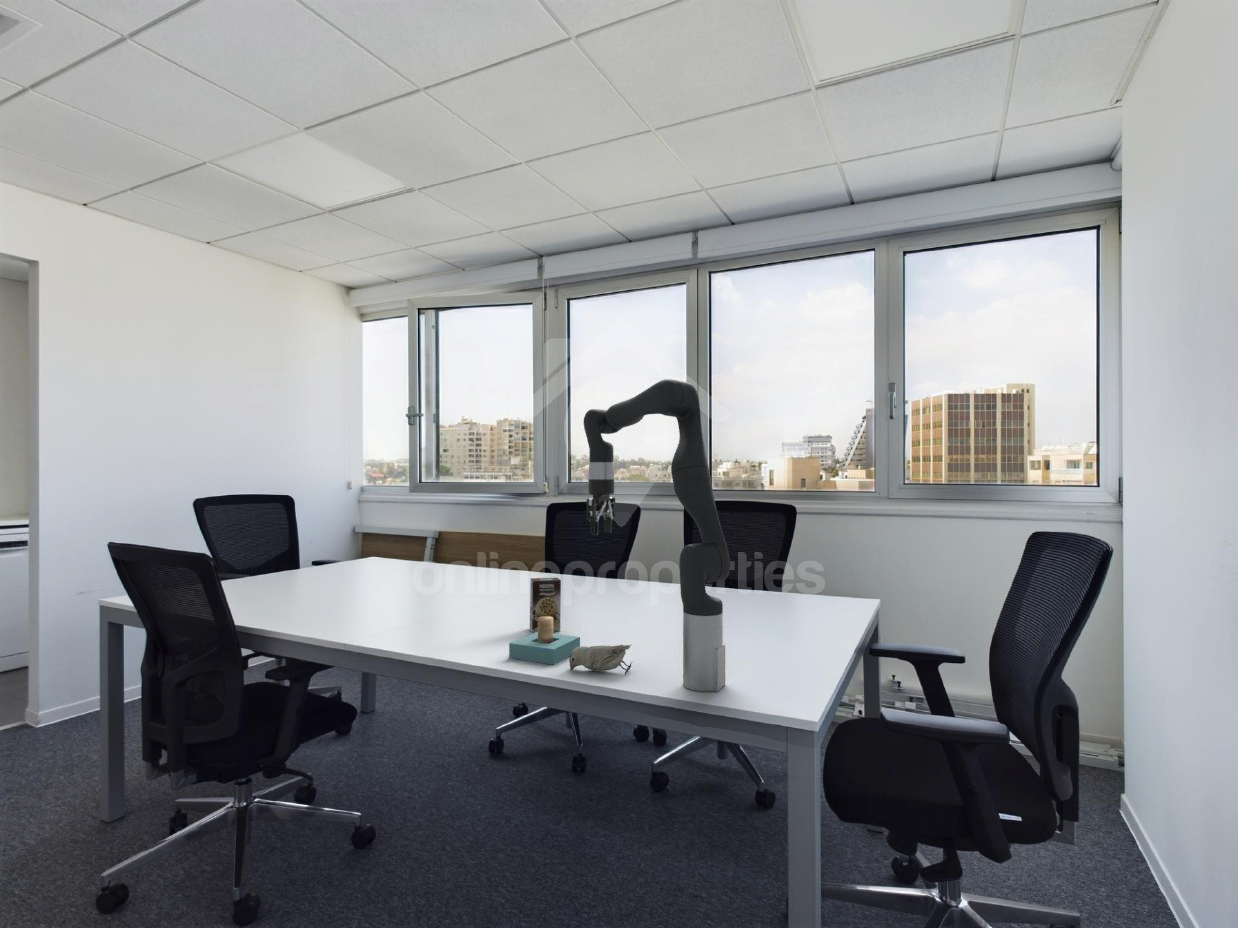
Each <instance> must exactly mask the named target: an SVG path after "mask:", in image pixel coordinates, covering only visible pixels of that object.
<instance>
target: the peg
mask: <svg viewBox="0 0 1238 928" xmlns="http://www.w3.org/2000/svg"><path fill="white" fill-rule="evenodd" d="M553 634H554V631H553V617H550V616H543V617H539V618H538V642H539V643H546V644H550V643H552V642H553Z"/></svg>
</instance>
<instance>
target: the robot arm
mask: <svg viewBox="0 0 1238 928" xmlns="http://www.w3.org/2000/svg"><path fill="white" fill-rule="evenodd" d="M700 405H701V403H700V396H699V393H698V390H697V388H696V387H695V385H693V384H692V383H690V382H687V381H682V380H678V379H677V380H676V379H672V378H671V379H668V378H664V379H662V380H660V381H657V382H655V383H654V384H653V385H651V386H649V387H648V388H647V389H645V390H643V391H642V392H640V393H638V394H637V395H635V396H634V397H631V398H628V399H625V400H623V401H620V402H618V403H614V404H612V405H611V406H610V407H608V409H599V408H591V409H589V410H588V411H586V413H585V415H584V418H583V428H584V432H585V433H584V434H585V437H586V440H587V444H588V449H589V452H588V453H589V459H588V461H589V465H588V494H589V495H592V498H587V499H586V508H585V510H586V511H585V519H586V520H588V522H590V535H591V536H598V535H599V520H600V517H601V516H602V517H603V519H604V520H603V532H604V533H606V534H607V533H609V534H610V533H612V530H613V528H612V523H613V519H614V518H616V516H617V514H616V511H617V510H616V509H617V508H616V497H614V496H611V495H615V466H614V446H613V443H611V442H608V441H606V440H604V439H603V436H602V434H603V435H604V434H605V435H611V434H615V433H618V432H619V431H621V430H622V429H625V428H627V427H630V426H633V425H634V426H635V425H636V424H637V423H639V422H641V420H643V418H644V417H645V416H648V415H663V416H667V417H673V418H676V421H677V425H678V430H679V431H678V432H679V439H678V444H677V447H676V449H675V452H674V454H673V457H672V462H671V466H670V468H671V469H670V470H671V471H670V473H671V480H672V485H673V490H674V494H675V495H676V497H677V499H678V501H679V503H680V504H681V505H682V507H683V508H684V509H685V510H686V512H687V513H688V514H689V515H690V516H691V518H692V519H693V521H694V522H695V524H696V526H697V528H698V532H699V533H700V534H699V535H700V539H701V541H702V543H700V542H699V543H690V544H686V545H685V546H684V547H683V548H682V550H681V551H680V555H679V561H678V562H679V582H680V583H679V584H680V585H679V586H680V599H681V602H682V613H683V615H682V630H683V631H682V638H683V639H682V645H683V646H682V668H683V669H682V673H683V674H682V679H683V680H682V683H683V684H682V685H683V687H684V688H686V689H688V688H689V690H692V691H695V690H697V692H719V691H720V690H721V689H722V688H723V687H724V686H725V685H726V643H724V638H723V635H724V634H723V631H724V629H723V628H724V625H723V622H724V618H723V617H724V616H723V615H724V614H723V612H724V611H723V609H724V607H723V606H724V605H723V601H722V599H720V598H718V597H715V596H713V595H710V594H708V593H707V589H706V584H708V583H709V584H710V583H717V582H722V581H725V580H727V578H728V576H729V575H730V571H731V559H730V554H729V553H730V552H729V549H728V546H727V542H726V538H725V536H724V532H723V528H722V525H721V522H720V519H719V513H718V510H717V505H716V500H715V496H714V490H713V485H712V484H713V483H712V477H711V473H710V467H709V464H708V462H709V461H708V459H707V453H706V448H705V441H704V436H703V429H702V417H701V416H702V414H701V407H700Z"/></svg>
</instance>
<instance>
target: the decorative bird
mask: <svg viewBox="0 0 1238 928" xmlns="http://www.w3.org/2000/svg"><path fill="white" fill-rule="evenodd" d="M631 646H632V644H619V645H592V646H586V645H585V646H584V645H580V647H577V648H575V649H574V650H573V651H572V653H571V655H570V657H569V658H568V659H569V660H568V662H569V669H570V670H573V669H575V668H576V667H579V666H580V667H581V666H582V667H584V668H585V669H586V670H587V669H588V670H589V671H590V670H591V671H595V672H605V671H611V670H614V669H617V668H618V667H620V668H621V669H622V670H624V671H625V672H624V676H626V674H628V673H629V671H630V670H631V668H632V663H633V661H632V662H630V664H629V665H627V664H626V662H625V661H624V658H625V655H626V654H627V652H626V651H627V650H629V649H630V648H631ZM621 663H623V665H625V666H626V667H627V668H625V667H623V665H622V664H621Z"/></svg>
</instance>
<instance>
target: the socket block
mask: <svg viewBox="0 0 1238 928" xmlns="http://www.w3.org/2000/svg"><path fill="white" fill-rule="evenodd" d="M577 647H581V636H575V635H567V634H560V633H553V642H552V643H550V644H546V643H539V642H538V632H532V633H531V634H529V635H526V636H523V637H520V638H518V639H516V640H513V641H511V642H509V643H508V651H509V652H508V658H509V659H513V660H514V659H515V660H520V661H525V662H526V661H527V662H532V661H533V662H534V663H540V664H548V665H553V666H554V665H556V664H559V663H560V662H562V661H564V660H566V659H569V658H570V657H569V656H570V655H571V653H572V651H573V650H574V649H575V648H577ZM563 659H564V660H563Z"/></svg>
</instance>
